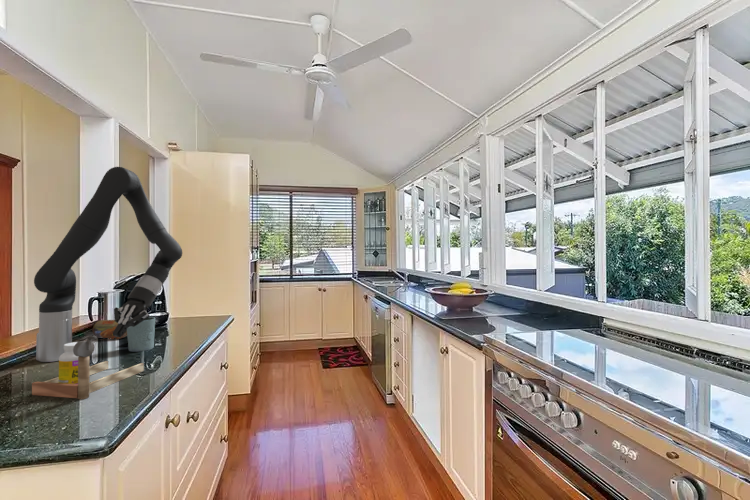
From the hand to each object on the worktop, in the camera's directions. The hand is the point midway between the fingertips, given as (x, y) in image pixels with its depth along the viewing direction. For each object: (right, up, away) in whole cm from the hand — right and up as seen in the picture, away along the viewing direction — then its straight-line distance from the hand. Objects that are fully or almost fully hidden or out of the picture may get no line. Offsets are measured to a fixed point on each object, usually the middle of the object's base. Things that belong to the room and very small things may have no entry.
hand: (116, 336), depth 125 cm
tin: (-33, -12, +46) cm, 58 cm away
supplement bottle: (-1, -11, -16) cm, 20 cm away
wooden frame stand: (+2, -11, -11) cm, 16 cm away
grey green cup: (-10, -12, +29) cm, 32 cm away
